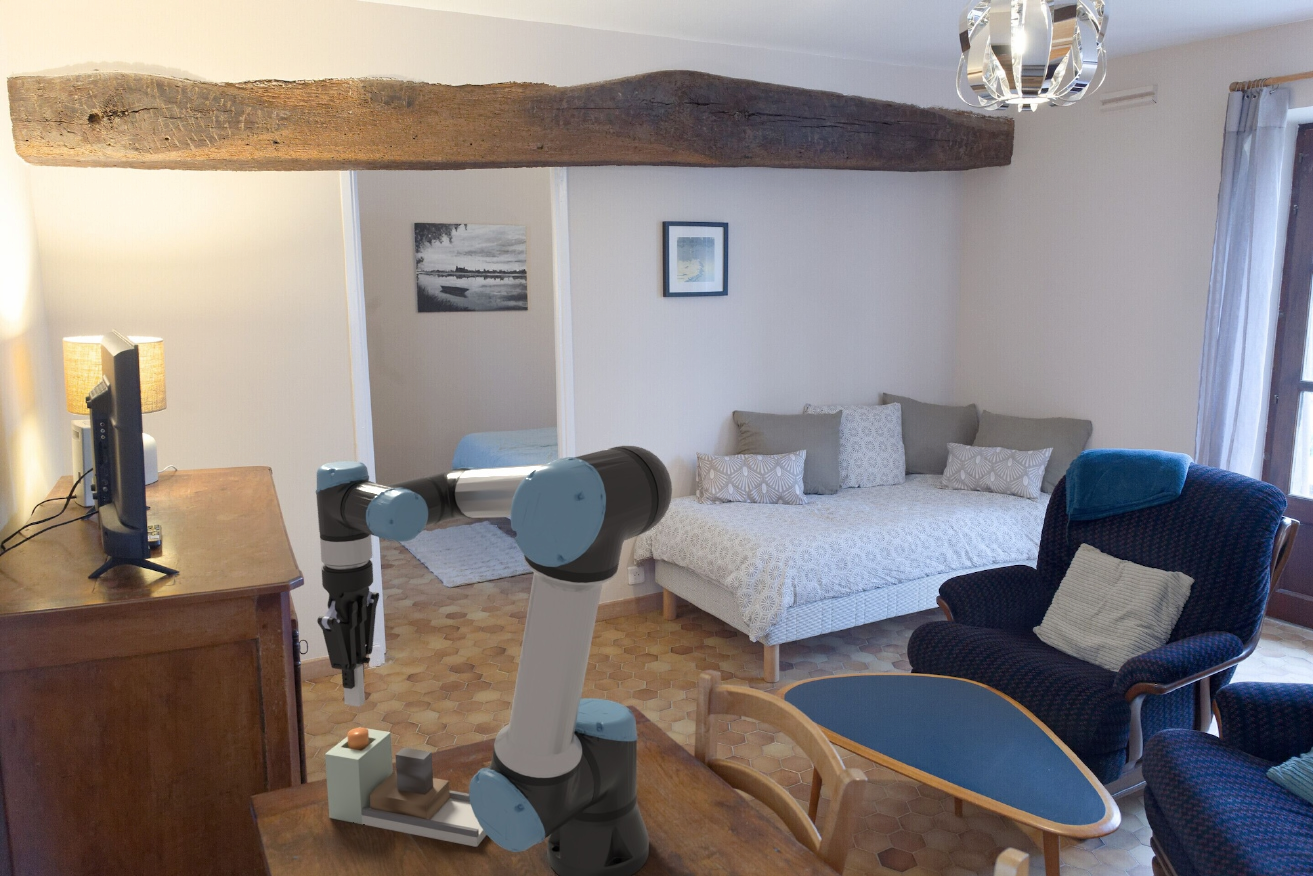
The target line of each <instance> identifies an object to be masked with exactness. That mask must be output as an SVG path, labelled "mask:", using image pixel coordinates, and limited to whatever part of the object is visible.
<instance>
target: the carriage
mask: <svg viewBox="0 0 1313 876" xmlns="http://www.w3.org/2000/svg"><path fill="white" fill-rule="evenodd" d="M433 769H434V768H433V752H432V751H430V750H429V751H428V750H424V749H423V750H422V749H415V748H410V747H404V746H403V747H402V748H401V749H400V750H399V751H398V752H396V754H395V770H396V771H394V770H393V773H392V774H391V775H390V776H389V777H388V778H387V779H385V780H384V781H383V782H382V783H381V784H380V785H379V786H378V787H377V788H376V789H375V790H373V791H372V792H371V793H370V807H371V809H375V810H381V811H386V812H391V813H396V814H402V815H407V816H412V817H417V818H422V819H428V820H430V818H431V817H432V816H433V815H434V814H435V813H436V812H437V811H438V810H439V809H440V808H441V807H442V806H443V805H444V803H445V802H446V801H447V800H448V799H449V798H450V791H451V790H450V780H447V779H443V778H442V779H441V778H437V777H436V778H434V776H433V775H434V773H433V772H434V771H433ZM449 790H450V791H449Z"/></svg>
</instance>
